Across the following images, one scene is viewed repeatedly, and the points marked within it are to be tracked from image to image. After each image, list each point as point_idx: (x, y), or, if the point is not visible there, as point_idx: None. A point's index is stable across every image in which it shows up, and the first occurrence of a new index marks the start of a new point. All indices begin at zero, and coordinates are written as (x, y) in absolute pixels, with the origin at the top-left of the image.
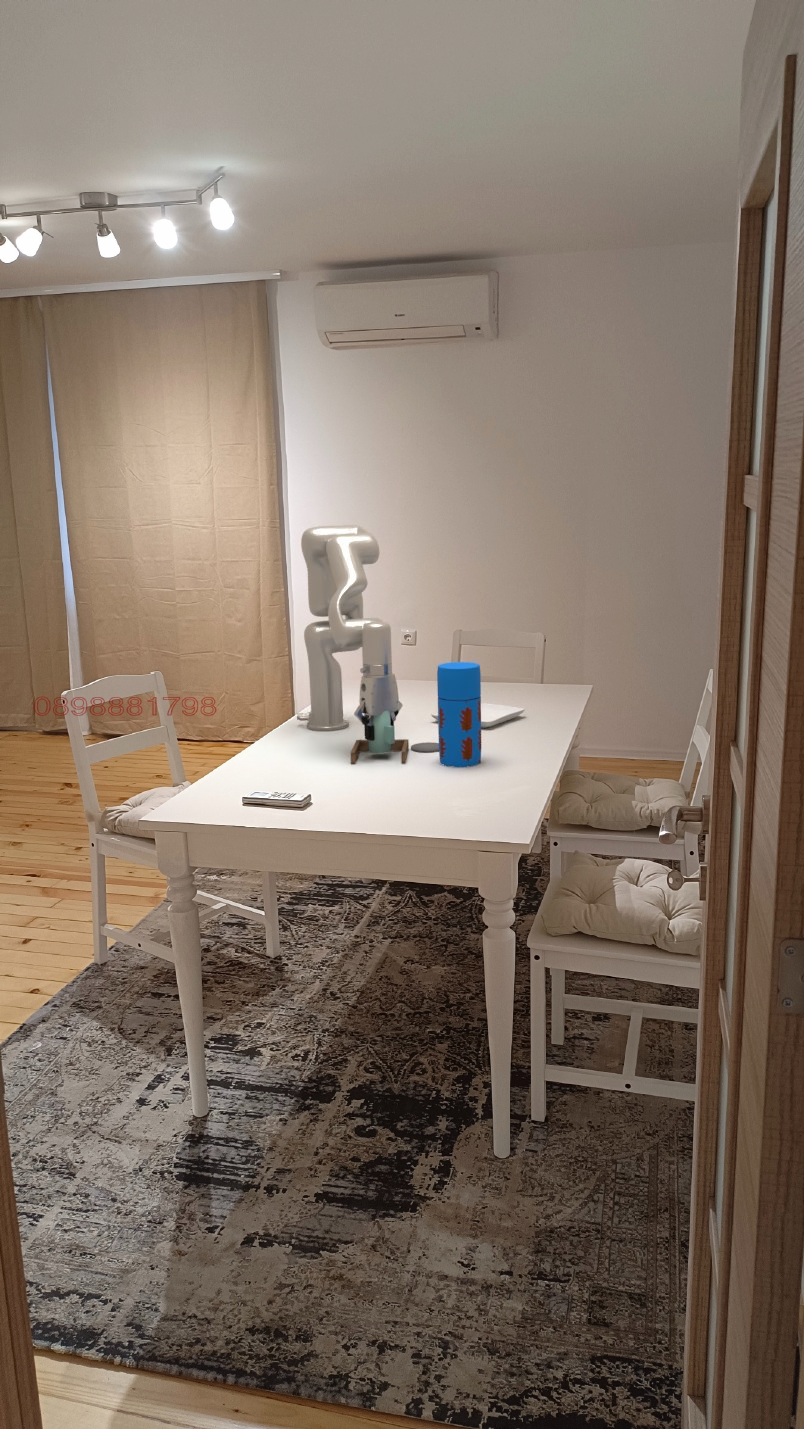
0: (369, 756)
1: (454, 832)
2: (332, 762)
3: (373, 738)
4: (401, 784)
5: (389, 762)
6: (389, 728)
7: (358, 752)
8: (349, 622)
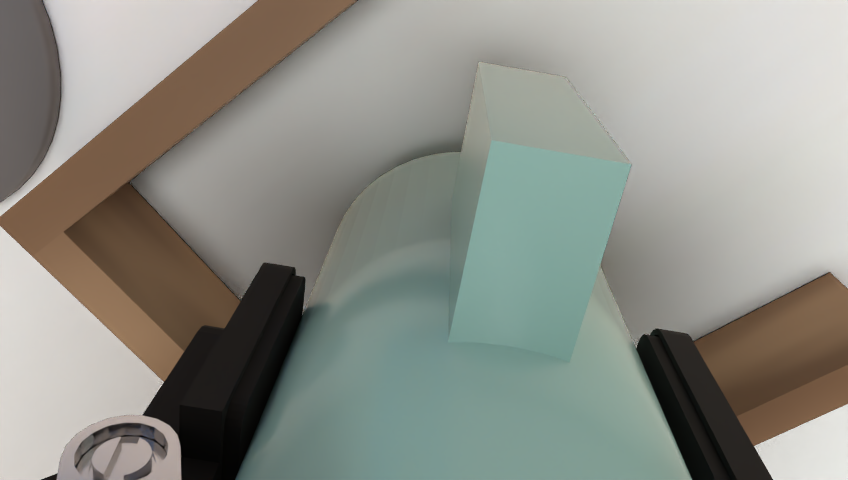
0: None
1: None
2: (841, 460)
3: (680, 343)
4: None
5: (605, 6)
6: (617, 180)
7: None
8: None
